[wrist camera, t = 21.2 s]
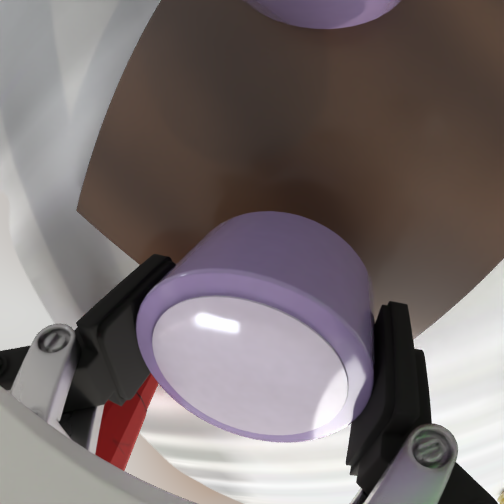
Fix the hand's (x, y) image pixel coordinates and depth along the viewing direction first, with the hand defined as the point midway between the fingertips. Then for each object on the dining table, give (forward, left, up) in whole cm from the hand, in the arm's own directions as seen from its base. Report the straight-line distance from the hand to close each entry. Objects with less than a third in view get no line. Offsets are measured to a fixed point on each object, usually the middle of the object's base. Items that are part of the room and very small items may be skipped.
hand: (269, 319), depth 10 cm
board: (-11, -2, -4) cm, 11 cm away
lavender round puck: (0, 0, -1) cm, 1 cm away
